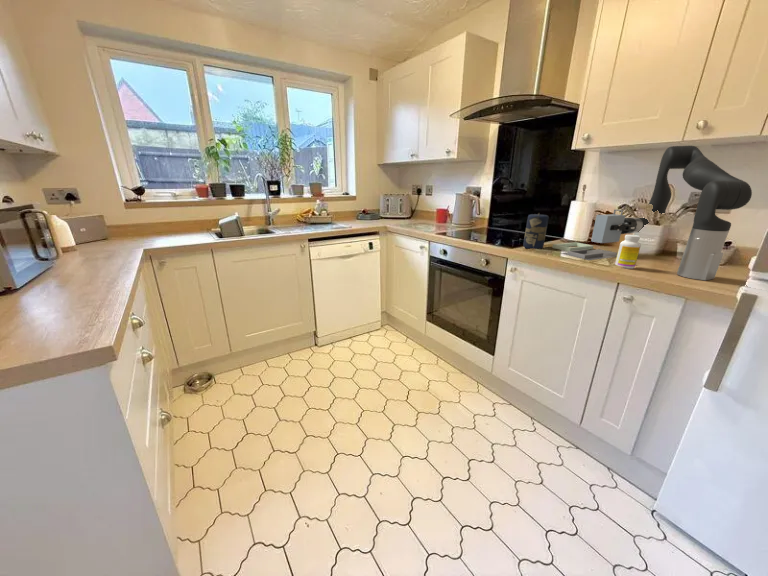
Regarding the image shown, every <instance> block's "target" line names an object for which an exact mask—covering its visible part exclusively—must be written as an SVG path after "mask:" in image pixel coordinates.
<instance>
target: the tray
mask: <svg viewBox="0 0 768 576" xmlns="http://www.w3.org/2000/svg"><path fill="white" fill-rule="evenodd" d="M552 249H557V250H561V251H564V252H567V251H574V250H584V249H586V250H594V245H592V244H588V243H587V244H586V243H582V242H575V241H574V242H565V243H554V244H552Z"/></svg>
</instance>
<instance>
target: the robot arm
mask: <svg viewBox="0 0 768 576" xmlns="http://www.w3.org/2000/svg"><path fill="white" fill-rule="evenodd" d="M678 169H679V170H681V169H682V170H683V172H682V180H684V181H685V182H686V184H687V185H688V186H690V187H691V188H694V189H695V190H699V191H701V192H700V195H699V198H698V202H697V207H696V208H695V209H696V210H695V214H694V217H693V224H692V227H691V230H690V234H689V236H688V238H687V239H688V240H687V241H686V242H687V243H686V245H685V247H684V248H685V249H684V251H683V254H682V257H681V260H680V263H679V266H678V269H677V272H676V275H678V276H680V277H684V278H689V279H691V280H692V279H693V280H699V281H709V280H714V279H715V277H716V276H717V275H716V274H717V272H718V271H719V270H718V269H719V266H720V265H721V261H722V259H723V257H724V252H722V251H723V248H724V245H725V243H726V240H727V238H728V236H729V233H730V231H731V230H730V229H731V227H732V223H731V222H730V221H728V220H726V219H724V218H723V219H722V218H720V217H719V216H717V215H716V210H723V211H725V210H727V211H730V210H731V211H732V210H737V209H740V208H742V207H745V206H746V205H747V204H748V203H749V202H750V201H751V198H752V195H753V194H752V193H753V192H752V187H751V185H750V184H749V183H748V182H746V181H744V180H742V179H740V178H737V177H736V176H733V175H731V174H730V173H728V172H727V171H725V170H724V169H723V168H721V167H719V165H718V164H716V163H715V162H713V161H711V160H710V159H709V158H708V157H706V156H705V155H704V154H703V153H702V151H701V150H700V149H699V147H697V146H695V145H673V146H672V145H671V146H669V147H667V148H666V150H664V152H663V154H662V155H661V160H660V163H659V167H658V170H657V171H658V172H657V175H656V179H655V184H654V190H653V192H652V195H651V198H650V201H649V203H648V205H649V204H652V205H653V209H652V211H653V212H655V211H657V210H658V211H659V213H661V214H662V213H665V214H666V212H667V211H666V210H667V208H668V206H669V203H670V202H671V198H672V190H671V187H670V183H669V180H668V175H669V171H670V170H678ZM648 223H649V222H648V220H647V219H645V218H639V217H625V219H624V223H620V225H611V227H610V230H617V231H621V235H631V234H636V233H640V232H639V231H640V230H641V229H642V228H643V227H644V225H646V224H648Z"/></svg>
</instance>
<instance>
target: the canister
mask: <svg viewBox="0 0 768 576" xmlns="http://www.w3.org/2000/svg"><path fill="white" fill-rule="evenodd" d="M549 219H550V217H549V215H547V214H540V212H538V213H537V214H536V213H534V214H533V213H531V214H528V216H527V220H526V227H525V230H524V231H525V232H524V239H523V243H522V245H523V247H524V249H530V250H532V249H533V250H534V249H535V250H537V249H539V250H540V249H543V248H544V244H545V240H546V235H547V229H548V224H549Z"/></svg>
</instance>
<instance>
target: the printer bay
mask: <svg viewBox="0 0 768 576" xmlns="http://www.w3.org/2000/svg"><path fill="white" fill-rule="evenodd" d="M560 254H561V255H566V256H570V257H573V258H578V259H582V260H586V261H593V260H601V259H609V258H616V257H617V254H618V252H615V251H612V250H604V249H600V248H599V249H598V248H597V249H590V250H586V249H584V250H574V251H566V252H561V253H560Z"/></svg>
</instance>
